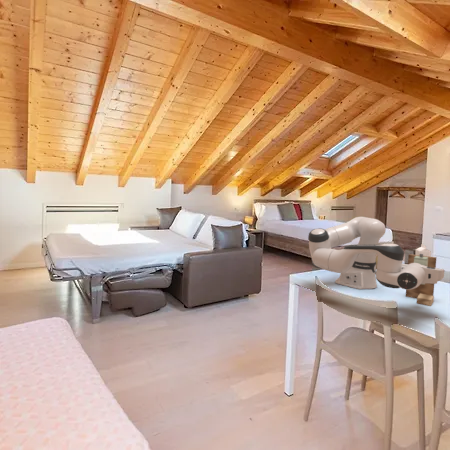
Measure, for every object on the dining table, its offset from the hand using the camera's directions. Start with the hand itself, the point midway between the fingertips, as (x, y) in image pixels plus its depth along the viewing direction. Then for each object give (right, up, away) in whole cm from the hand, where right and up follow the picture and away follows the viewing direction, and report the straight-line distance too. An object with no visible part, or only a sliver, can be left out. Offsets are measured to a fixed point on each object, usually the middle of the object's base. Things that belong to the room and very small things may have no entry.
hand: (420, 267), depth 161 cm
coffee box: (+29, -12, +61) cm, 69 cm away
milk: (+25, -14, +44) cm, 52 cm away
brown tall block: (+6, -17, +13) cm, 22 cm away
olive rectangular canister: (0, -7, 0) cm, 7 cm away
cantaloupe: (+11, -12, +58) cm, 61 cm away
